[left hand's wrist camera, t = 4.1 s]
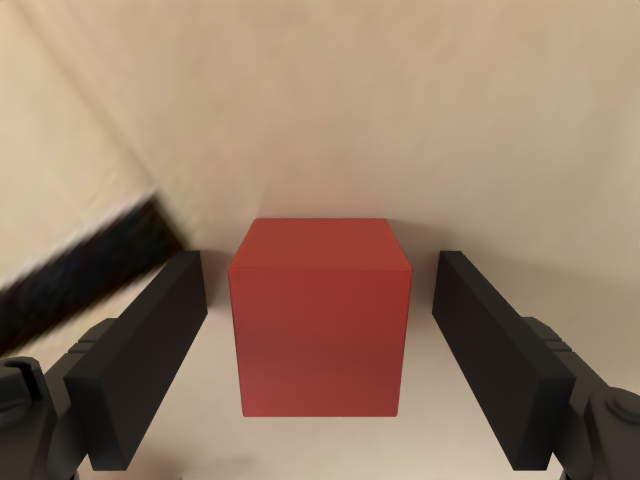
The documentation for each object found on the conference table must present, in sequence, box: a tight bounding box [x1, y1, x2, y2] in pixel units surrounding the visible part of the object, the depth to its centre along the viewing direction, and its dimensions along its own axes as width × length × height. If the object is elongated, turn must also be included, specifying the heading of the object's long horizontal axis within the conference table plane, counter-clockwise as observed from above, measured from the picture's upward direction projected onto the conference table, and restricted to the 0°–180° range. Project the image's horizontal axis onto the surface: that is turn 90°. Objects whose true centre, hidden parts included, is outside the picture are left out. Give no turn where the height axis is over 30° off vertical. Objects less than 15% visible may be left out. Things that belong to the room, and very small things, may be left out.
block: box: [228, 219, 412, 417], centre depth 12 cm, size 5×5×4 cm
